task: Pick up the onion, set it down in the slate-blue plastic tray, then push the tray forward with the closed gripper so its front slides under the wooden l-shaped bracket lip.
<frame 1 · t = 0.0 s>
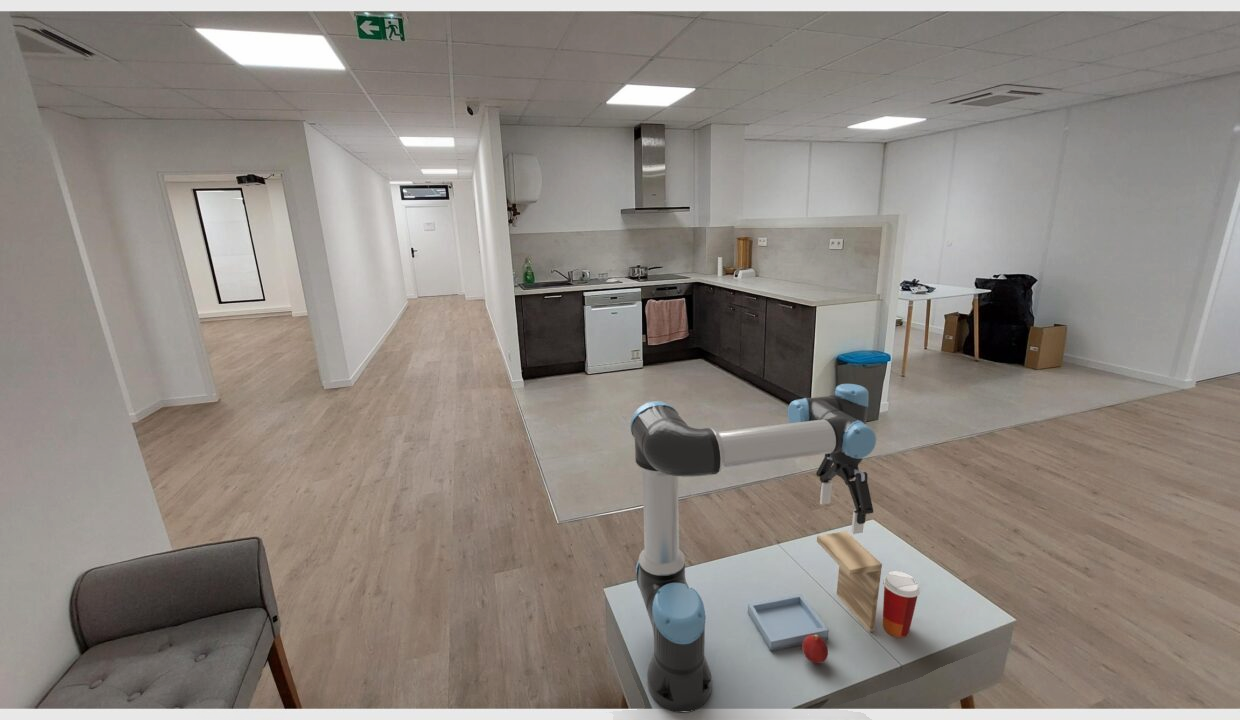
hand: (840, 517, 129), 28 cm above the table, fingers open, 13 cm apart
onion: (814, 661, 119), on the table
wooden l-shaped bracket: (841, 614, 133), on the table
tray: (786, 625, 130), on the table
coffee cup: (895, 629, 128), on the table
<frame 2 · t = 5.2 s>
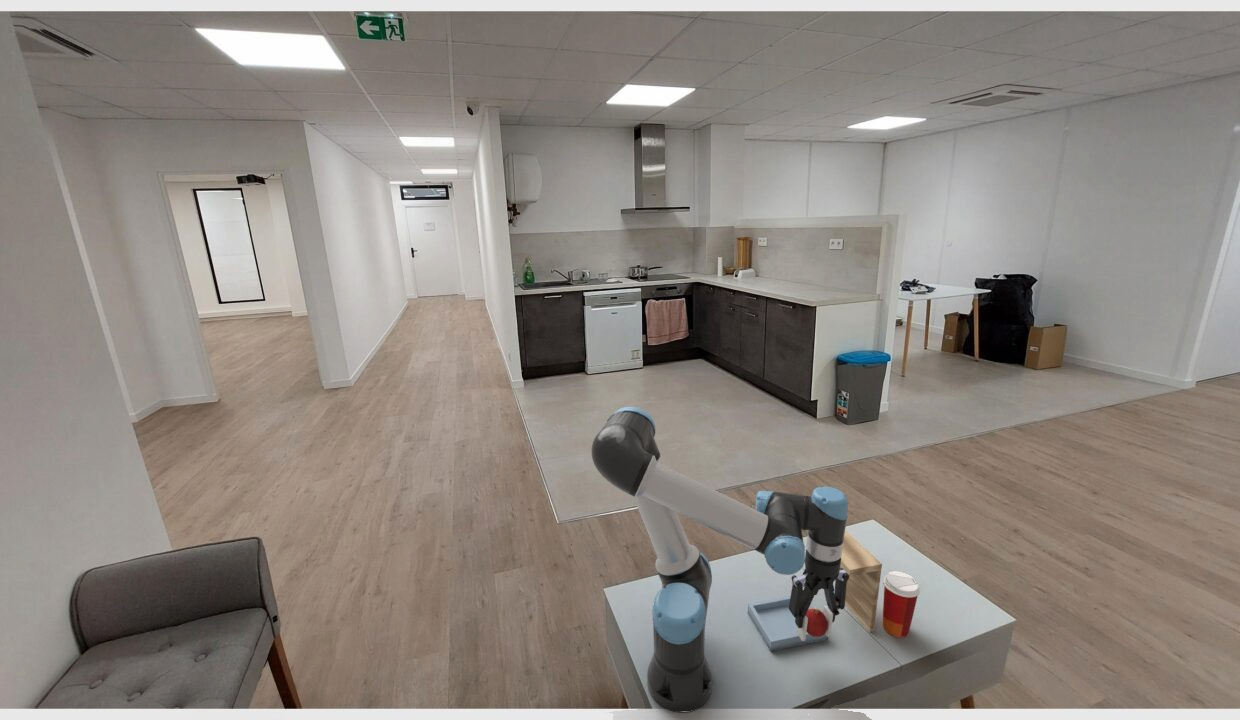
hand: (813, 633, 117), 8 cm above the table, fingers closed on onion, 6 cm apart
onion: (813, 635, 117), point 7 cm above the table, touching gripper
everything else where it was.
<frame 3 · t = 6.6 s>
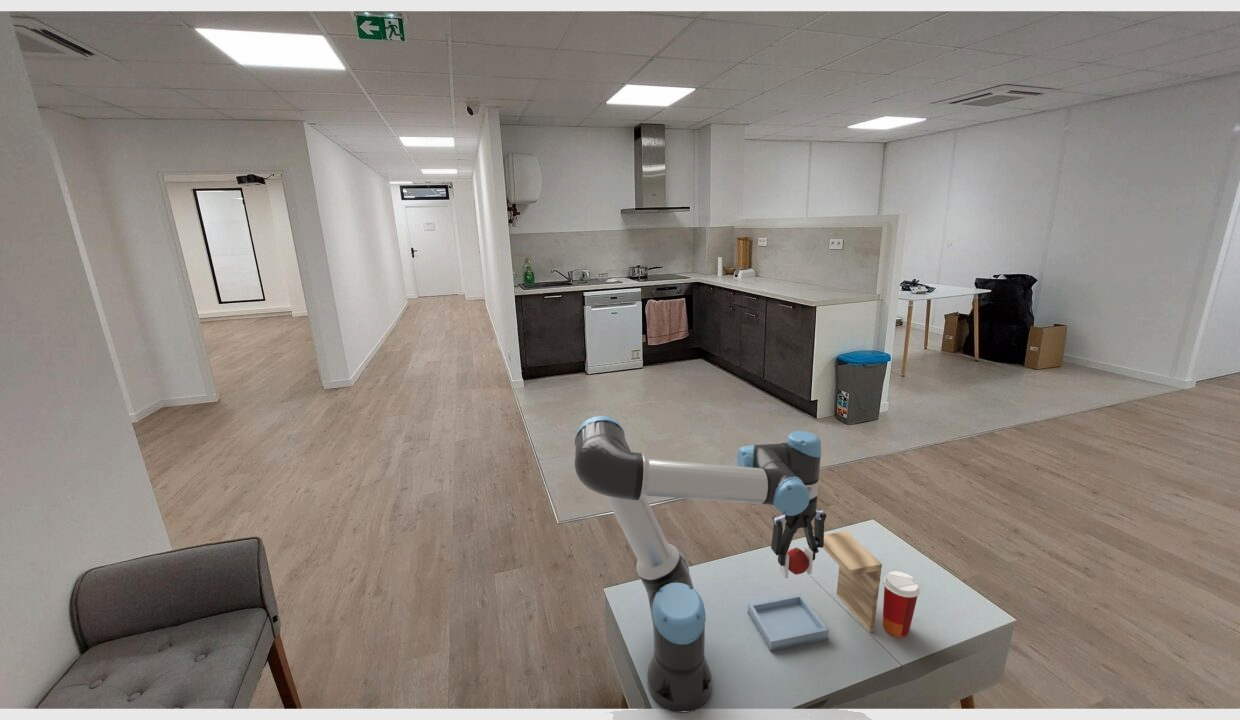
hand: (795, 572, 125), 17 cm above the table, fingers closed on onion, 6 cm apart
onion: (795, 574, 125), point 16 cm above the table, touching gripper
everything else where it was.
when the fingers open (2 cm above the table, at t = 8.5 s): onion stays where it is, resting on tray.
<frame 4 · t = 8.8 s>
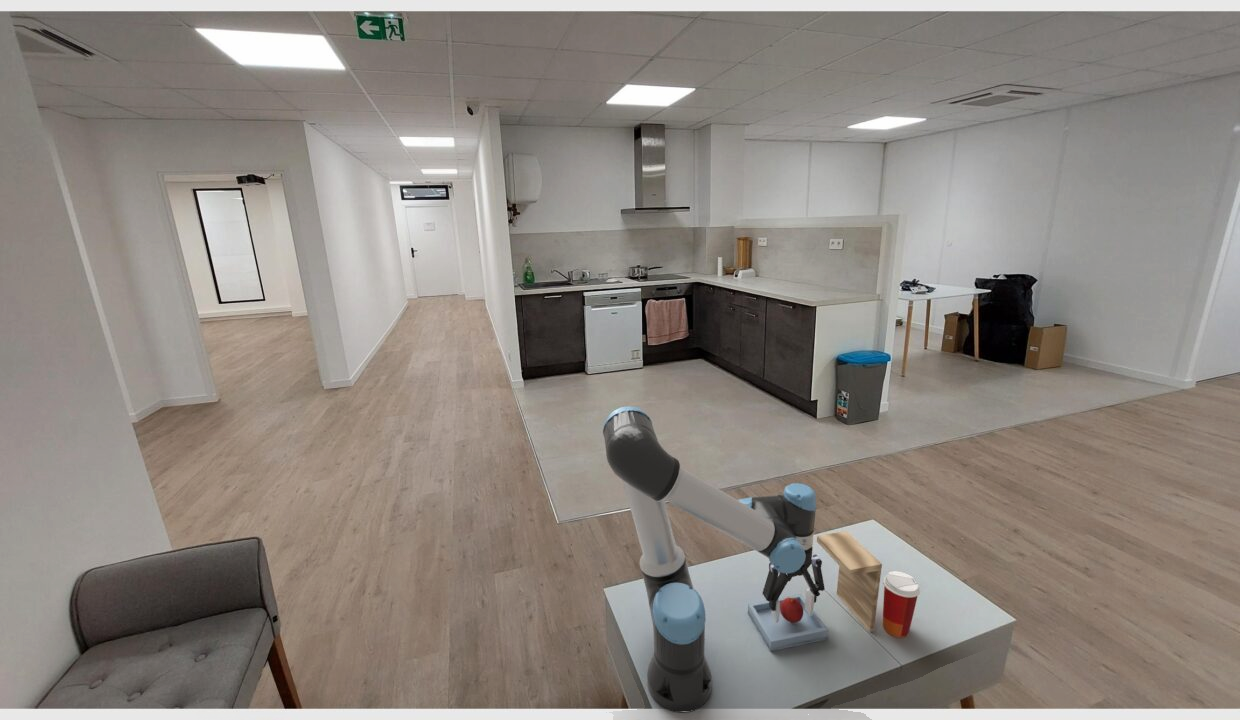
hand: (791, 615, 129), 3 cm above the table, fingers open, 9 cm apart
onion: (791, 621, 130), point 1 cm above the table, touching tray
tray: (786, 625, 130), on the table, touching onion
everything else where it was.
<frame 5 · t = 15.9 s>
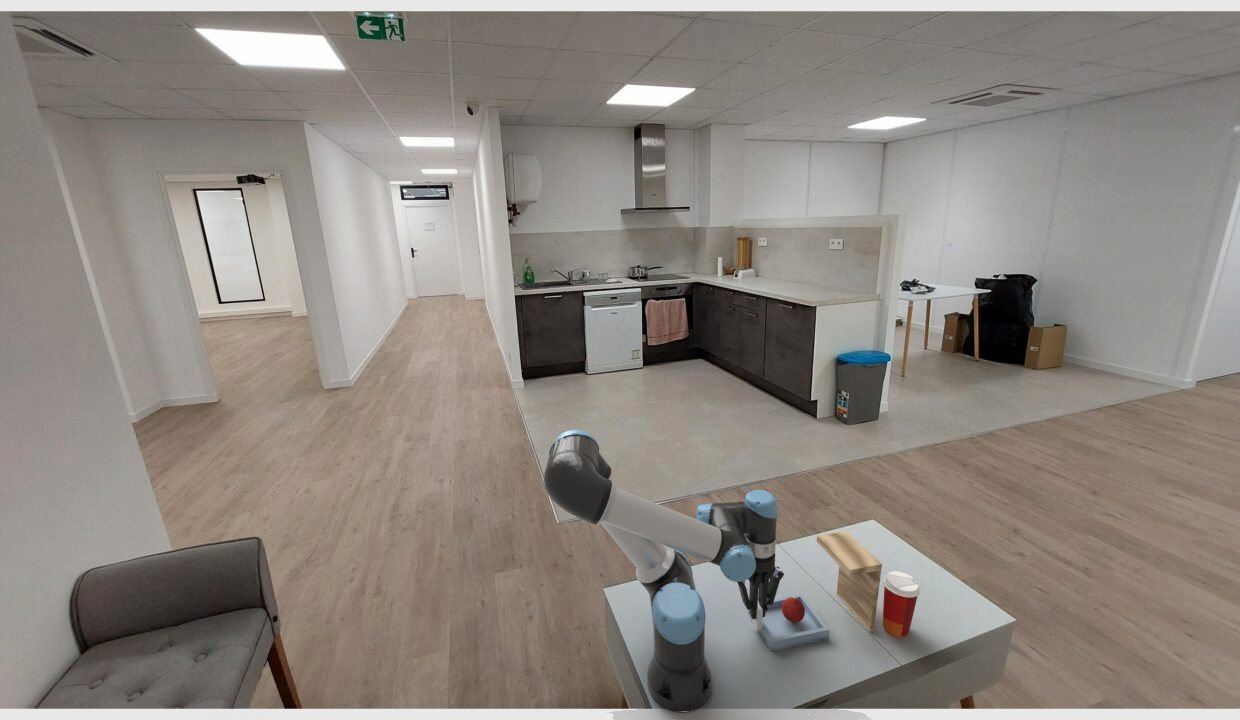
hand: (757, 626, 128), 2 cm above the table, fingers closed
tray: (786, 625, 130), on the table, touching gripper, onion
everything else where it was.
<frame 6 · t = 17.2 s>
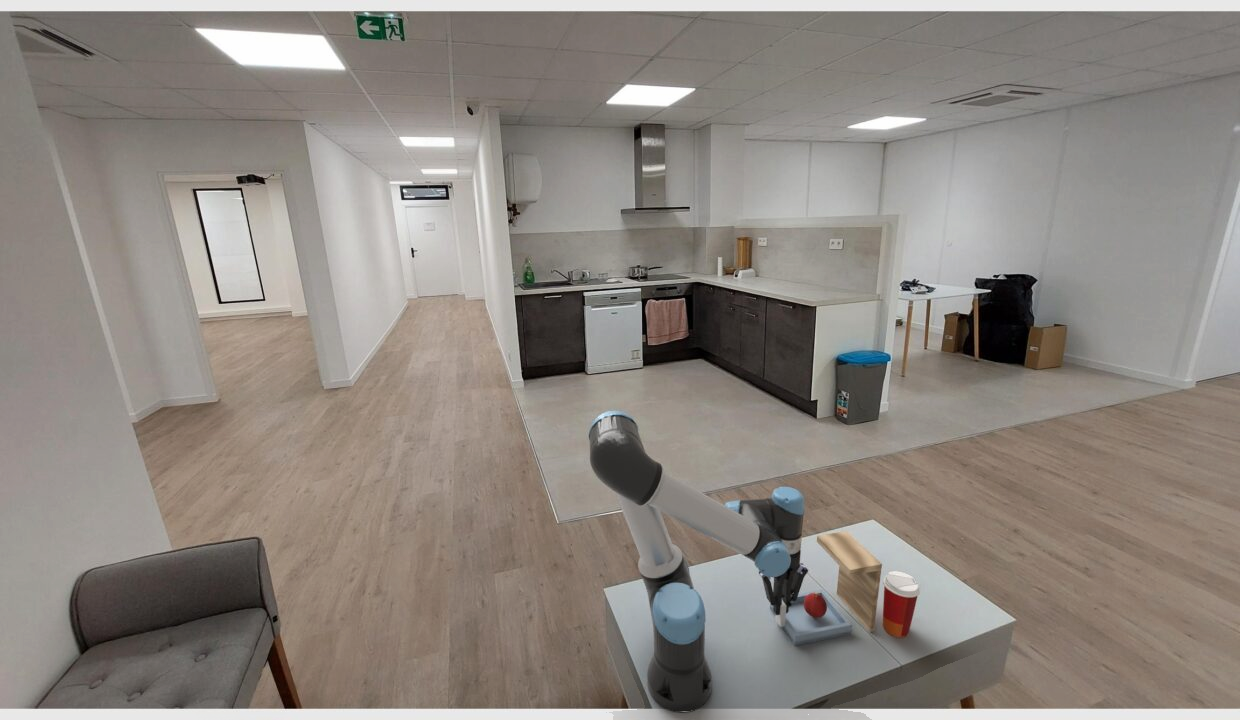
hand: (779, 622, 129), 1 cm above the table, fingers closed
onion: (814, 617, 131), point 1 cm above the table, touching tray
tray: (808, 620, 131), on the table, touching gripper, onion
everything else where it was.
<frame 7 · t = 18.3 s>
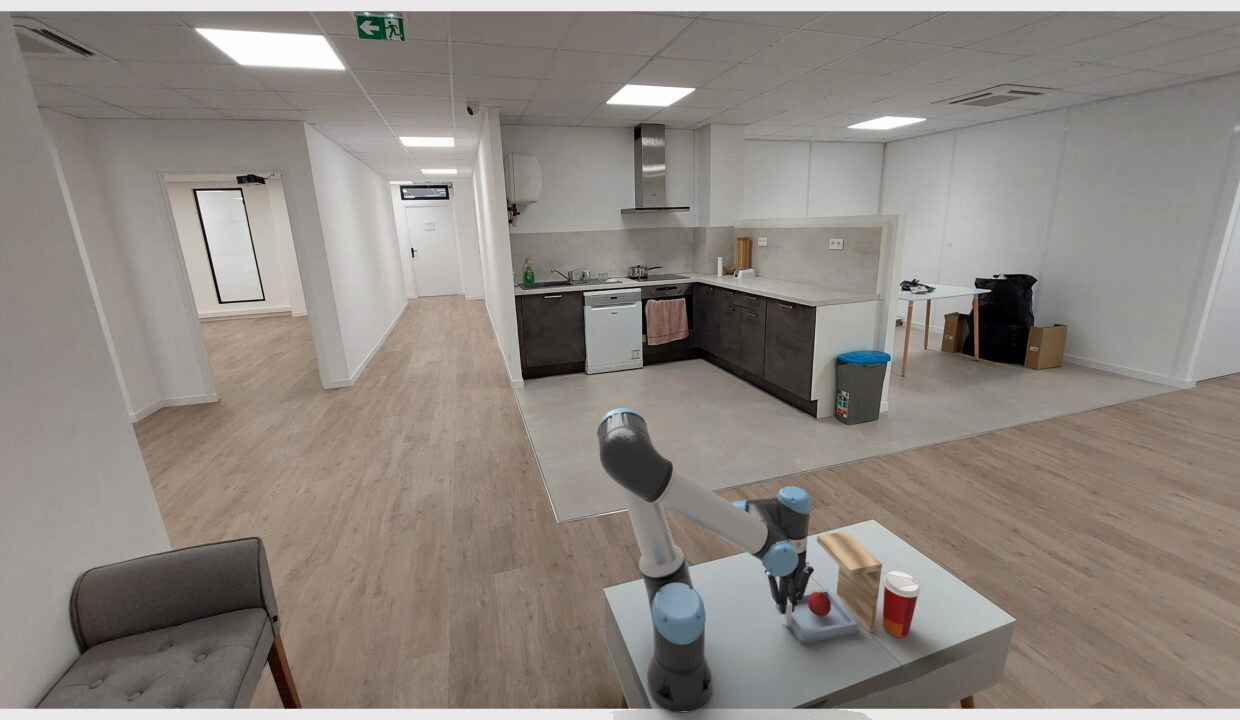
hand: (785, 621, 129), 1 cm above the table, fingers closed
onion: (820, 615, 131), point 1 cm above the table, touching tray
tray: (814, 619, 131), on the table, touching gripper, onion
everything else where it was.
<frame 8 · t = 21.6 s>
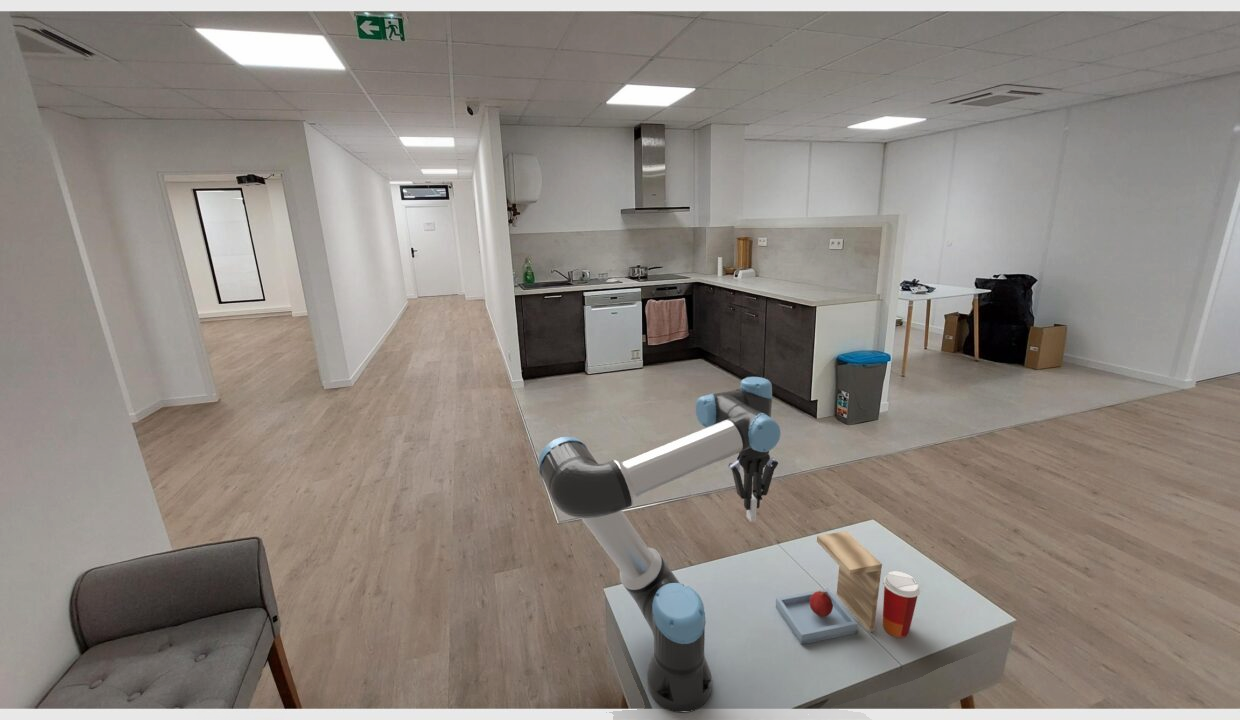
hand: (751, 518, 129), 28 cm above the table, fingers closed
tray: (814, 619, 131), on the table, touching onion
everything else where it was.
at the end: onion inside the target area on the tray (1.5 cm from its centre), point 0.8 cm above the tray's base; the gripper is holding nothing; tray inside the target area (1.5 cm from its centre), on the table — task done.
